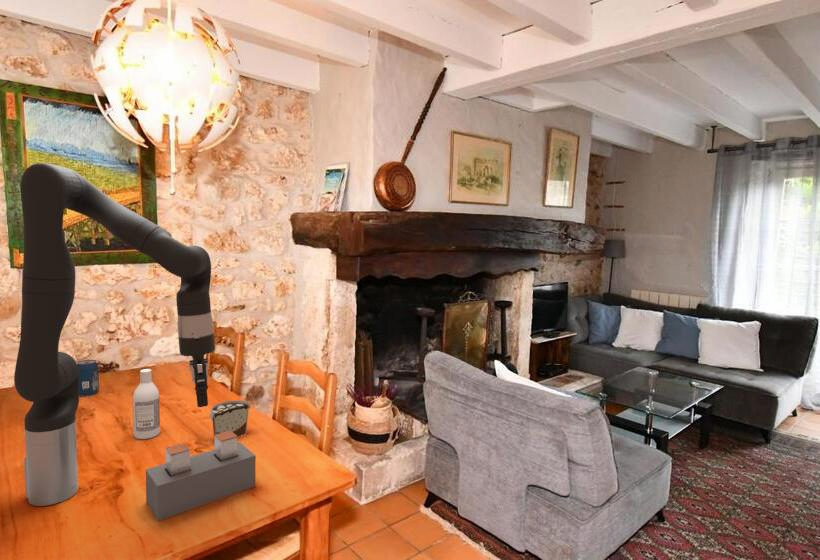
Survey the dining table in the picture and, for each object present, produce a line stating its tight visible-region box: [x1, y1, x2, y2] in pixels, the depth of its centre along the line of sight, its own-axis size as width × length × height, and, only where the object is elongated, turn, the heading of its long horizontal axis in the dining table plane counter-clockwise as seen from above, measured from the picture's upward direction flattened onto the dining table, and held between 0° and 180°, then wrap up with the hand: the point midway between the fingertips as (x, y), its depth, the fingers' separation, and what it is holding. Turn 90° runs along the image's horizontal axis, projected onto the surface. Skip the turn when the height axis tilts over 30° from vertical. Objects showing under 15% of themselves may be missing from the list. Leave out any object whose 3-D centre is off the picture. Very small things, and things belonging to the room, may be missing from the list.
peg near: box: [164, 442, 191, 477], centre depth 107 cm, size 4×4×8 cm
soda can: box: [76, 359, 100, 397], centre depth 171 cm, size 7×7×12 cm
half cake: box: [209, 400, 251, 438], centre depth 142 cm, size 12×6×10 cm, turn 141°
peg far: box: [213, 431, 238, 462], centre depth 115 cm, size 4×4×8 cm
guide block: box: [145, 442, 257, 522], centre depth 112 cm, size 22×9×8 cm, turn 133°
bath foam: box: [132, 368, 161, 440], centre depth 140 cm, size 7×7×20 cm
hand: (201, 400), depth 110 cm, fingers open, 8 cm apart
